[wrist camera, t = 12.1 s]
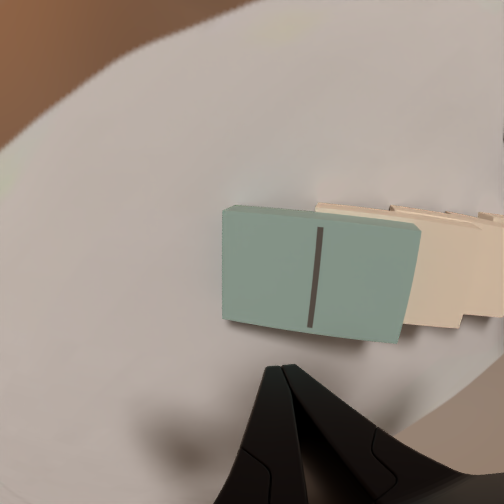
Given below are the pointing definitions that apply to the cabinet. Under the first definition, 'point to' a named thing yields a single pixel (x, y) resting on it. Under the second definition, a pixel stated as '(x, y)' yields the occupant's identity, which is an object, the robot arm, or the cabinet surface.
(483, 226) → the domino
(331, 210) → the domino
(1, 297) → the cabinet surface
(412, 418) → the cabinet surface
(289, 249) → the domino
